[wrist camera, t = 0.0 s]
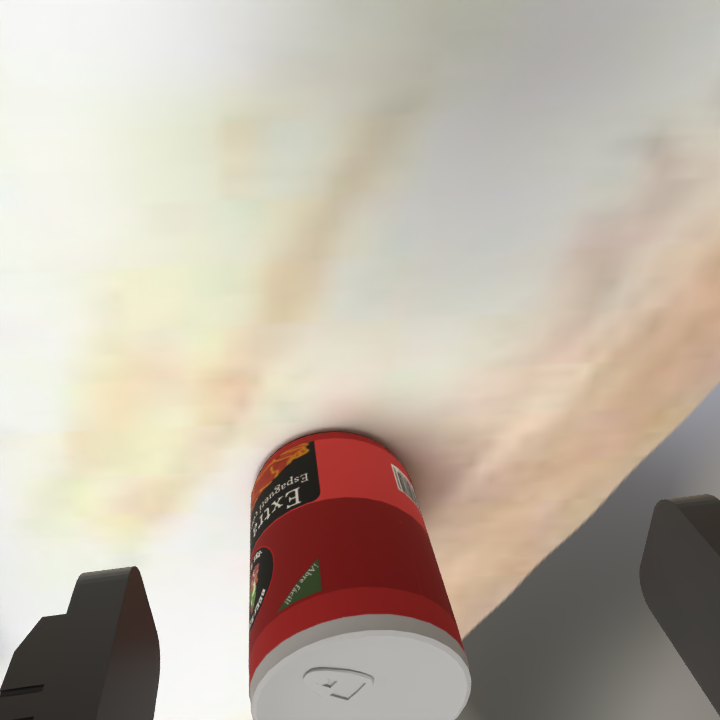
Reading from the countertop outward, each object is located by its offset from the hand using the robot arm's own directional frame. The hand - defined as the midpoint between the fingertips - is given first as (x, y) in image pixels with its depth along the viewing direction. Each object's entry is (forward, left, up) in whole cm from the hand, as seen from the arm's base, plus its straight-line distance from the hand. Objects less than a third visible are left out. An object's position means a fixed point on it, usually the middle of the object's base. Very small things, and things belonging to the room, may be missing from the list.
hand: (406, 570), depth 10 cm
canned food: (+14, 0, -17) cm, 22 cm away
